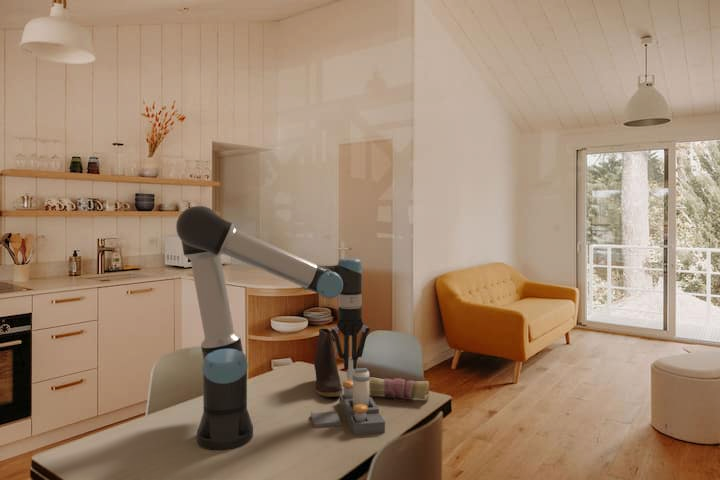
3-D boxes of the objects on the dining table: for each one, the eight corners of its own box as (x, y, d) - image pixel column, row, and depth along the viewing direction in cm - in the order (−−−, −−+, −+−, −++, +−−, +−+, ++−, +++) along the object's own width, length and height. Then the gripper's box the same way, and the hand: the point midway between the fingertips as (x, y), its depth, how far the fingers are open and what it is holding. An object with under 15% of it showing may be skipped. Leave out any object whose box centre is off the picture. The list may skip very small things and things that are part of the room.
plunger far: (343, 400, 159) (344, 385, 159) (341, 395, 163) (341, 381, 163) (356, 399, 160) (356, 384, 160) (354, 394, 164) (354, 380, 164)
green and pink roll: (430, 391, 172) (373, 386, 177) (429, 375, 169) (372, 370, 173) (428, 408, 165) (369, 402, 170) (427, 391, 162) (367, 386, 167)
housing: (354, 434, 141) (354, 420, 141) (339, 403, 164) (339, 391, 164) (384, 432, 143) (385, 418, 143) (366, 401, 166) (366, 389, 166)
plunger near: (354, 426, 142) (354, 410, 142) (351, 420, 146) (351, 404, 146) (368, 425, 143) (369, 409, 143) (365, 419, 147) (365, 403, 147)
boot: (321, 402, 165) (321, 342, 164) (308, 379, 188) (308, 326, 187) (346, 400, 167) (347, 341, 166) (330, 377, 190) (331, 325, 189)
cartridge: (354, 420, 151) (354, 372, 150) (350, 413, 156) (351, 366, 155) (370, 419, 152) (371, 371, 151) (366, 412, 157) (367, 365, 156)
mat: (314, 427, 146) (314, 423, 146) (311, 416, 153) (311, 413, 153) (341, 425, 147) (341, 421, 147) (336, 414, 155) (336, 411, 155)
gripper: (331, 309, 155) (332, 384, 156) (372, 308, 158) (372, 381, 159) (328, 305, 162) (328, 376, 163) (367, 303, 165) (367, 373, 166)
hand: (350, 378), depth 161 cm, fingers closed
